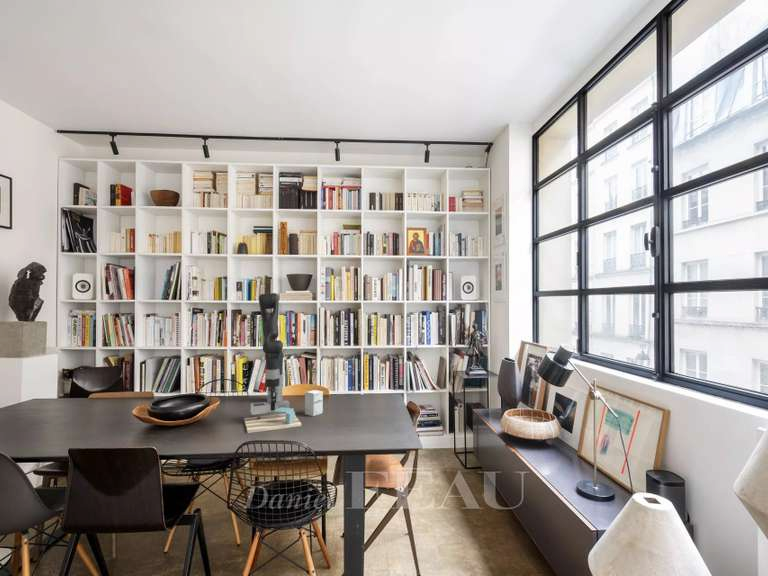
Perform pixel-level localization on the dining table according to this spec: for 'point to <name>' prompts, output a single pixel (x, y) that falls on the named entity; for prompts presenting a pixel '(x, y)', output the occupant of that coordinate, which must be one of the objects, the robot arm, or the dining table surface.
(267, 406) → the link
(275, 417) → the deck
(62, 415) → the dining table surface
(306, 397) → the supplement box
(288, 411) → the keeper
